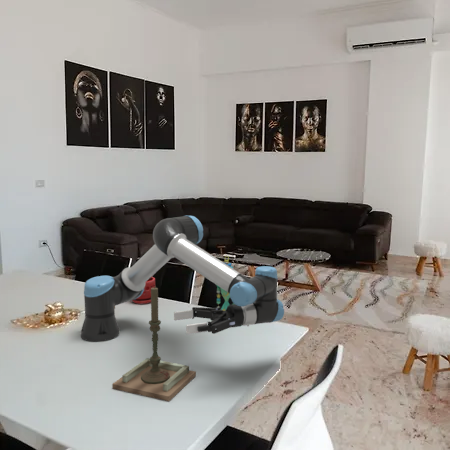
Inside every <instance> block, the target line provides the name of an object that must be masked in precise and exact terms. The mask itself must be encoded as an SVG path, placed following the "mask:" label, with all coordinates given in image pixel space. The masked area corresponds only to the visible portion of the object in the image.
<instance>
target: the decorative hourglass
mask: <svg viewBox="0 0 450 450" xmlns="http://www.w3.org/2000/svg"><path fill="white" fill-rule="evenodd" d="M226 257H227V258H228V259H226ZM229 260H230V257H229V256H228V255H225V256H224V261H222V262H223V263H225V264H226V265H228V266H229V267H231V268H233V269H234V266H232V263H231V262H229ZM216 287H217V288H216V293H217V294H216V297H217V298H216V304H217V305H218V306H216V308H218V307H220V306H219V304H220V305H221V303H222V302H221V296H222V297H223V299H224V303H223V304H222V306H221V307H220V308H221V310H223V311H225V310H226V309H227V307H228V306H229V305H233V304H234V303H233V301H232V300H231V302H232V303H231V304H230V303H229V300H230V299H231V298H230V294H229V293H228V292H227V291H225V290H224V289H222V288H221V287H219V286H217V285H216ZM220 293H221V294H220Z"/></svg>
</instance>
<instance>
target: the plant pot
mask: <svg viewBox="0 0 450 450" xmlns="http://www.w3.org/2000/svg"><path fill="white" fill-rule="evenodd" d="M155 286H156V278H155V277H153V276H152V277H150V278H149V279H148V280H147V281H146V282H145V287H144V291H143V293H142V295H141V296H140V297H138V298H136V299H135V300H132V303H135V304H138V305H145V304H149V303H150V304H151V288H156V287H155Z"/></svg>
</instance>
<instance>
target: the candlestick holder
mask: <svg viewBox="0 0 450 450" xmlns="http://www.w3.org/2000/svg"><path fill="white" fill-rule="evenodd" d="M150 311H151V312H150V313H151V314H150V316H151V317H150V320H149V321H148V324H149V326H150V327H149V331H150V332H151V333H152V335H151V336H152V338H151V342H152V354H151V356H150V357H149V358H150V362H151V364H152V368H151V369H149V370H148V371H146V372H144V373H143V374H142V376H141V379H142V381H143V382H145V383H149V384H159V383H163V382H165V381H167V380H168V379H169V377H170V374H169V373H168V372H167V371H165V370H163V369H161V368H159V367H158V366H159V365H158V364H159V363H160V361H162V358H161V356H159V353H158V348H159V346H158V342H159V334H158V332H159V331H161V323H162V321H161V319H159V288H158V287H157V286H156V285H155V288H151V302H150Z"/></svg>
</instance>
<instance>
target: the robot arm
mask: <svg viewBox="0 0 450 450" xmlns="http://www.w3.org/2000/svg"><path fill="white" fill-rule="evenodd" d="M203 237H204V227H203V224H202V223H201V221H200V220H199V219H198V218H197V217H196V216H194V215H183V216H177V217H167V218H164V219H162V220H160V221H159V222H157V223H156V225H155V227H154V228H153V231H152V239H153V243H154V244H153V245H152V247H150V248H149V249H148V251H146V252H145V253H144V255H142V256H141V257H140V258H139V259H138V260H137V261H136V262H135V263H134V264H133V265H132V266H131V267H130V266H129V267H125V268H124V269H122V271H121V272H120V273H119V274H118V275H116V276H110V275H100V276H99V275H97V276H94V277H91V278H89V279H87V280H86V281H85V283H84V285H83V289H84V290H83V297H84V320H83V323H82V326H81V330H80V337H81V339H83V340H85V341H88V342H104V341H109V340H113V339H114V338H116V337H119V335H120V326H119V324H118V321H117V318H116V315H115V314H116V313H115V309H116V306H118V305H121V304H124V303H127V302H130V301H132V300H135V299H136V298H138V297H140V296H141V295H142V293H143V291H144V287H145V282H146V281H147V280H148V279H149V278H150V277H153V276H154V275H155V274H156V273H157V272H158V271H159V270H161V268H162V267H163V266H165V265H166V264H167V263H168V262H169V261H170V260H171V259H174V258H175V259H177V260H178V261H180V262H181V263H183V264H184V265H186V266H187V267H189V268H190V269H192V270H193V271H194V272H196V273H198V274H200V275H201V276H202V277H204V278H205V279H207V280H209V281H210V282H212V283H213V284H215V286H216V287H217V286H219V287H221V288H222V289H224V290H225V291H227V292H228V293H229V294H230V298H229V299H230V300H231V302H232V301H233V302H232V304H233V303H234V304H233V305H232V304H230V305H229V306H228V307H227V309H226V310H225V311H223V310H221V308H222V307H221V306H219V307H218V306H217V307H218V308H217V307H202V306H201V307H194V306H193V307H192V308H191V309H190V310H189V309H188V310H180V311H174V312H173V320H174V321H181V320H188V319H189V320H190V319H191V320H194V319H195V318H201V319H209V320H210V321H207V322H199V323H191V324H186V326H185V327H186V331H185V332H186V333H185V334H186V335H191V334H197V333H205V332H208V333H211V334H213V335H215V334H217V333H220V332H223V331H225V330H227V329H230V328H238V327H243V326H244V327H245V326H246V327H250V325H252V326H253V325H259V324H267V323H269V324H271V323H274V322H279V321H281V320H282V319H283V317H284V315H285V309H284V303H283V302H282V301H281V300H280V299H278V279H279V278H278V270H277V268H276V267H273V266H269V265H268V266H267V265H266V266H265V265H262V266H258V267H256V268H255V274H254V276H252V277H250V278H249V277H247V276H246V275H243V274H242V273H241V272H239V271H237V270H236V269H235V268H234V267H233V268H231V267H229V266H228V265H226V264H227V263H226V264H225V262H224V261H222V260H220V259H218V258H217V257H215V256H213V255H212V254H211V253H209V252H208V251H206V250H205V249H204V248H201V247H200V246H198V244H199V243H201V242H202V240H203ZM223 262H224V263H223ZM132 302H133V301H132ZM114 306H115V308H114Z"/></svg>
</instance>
